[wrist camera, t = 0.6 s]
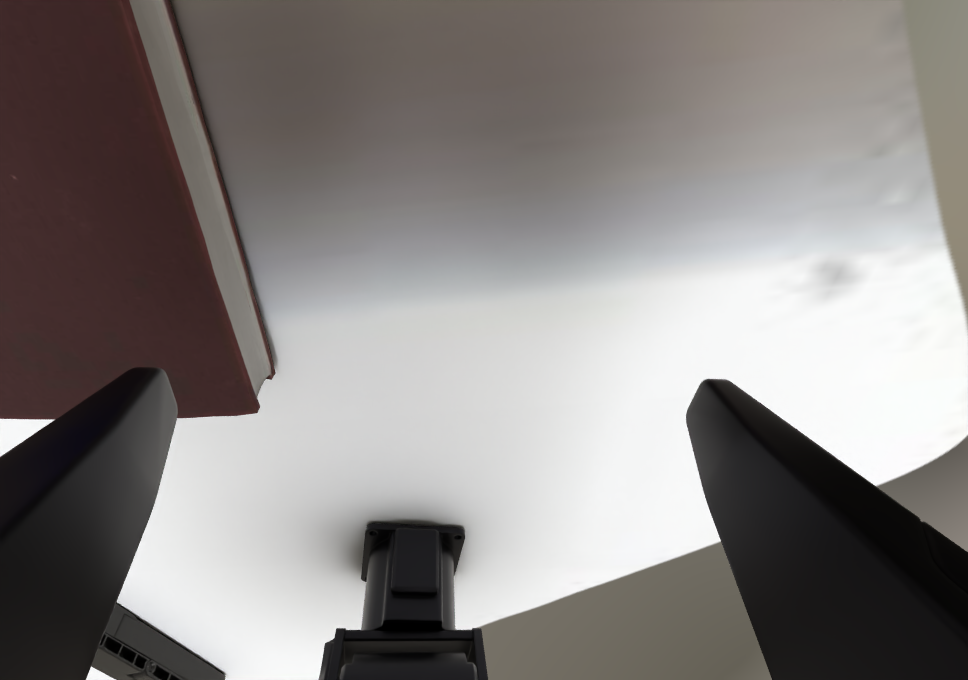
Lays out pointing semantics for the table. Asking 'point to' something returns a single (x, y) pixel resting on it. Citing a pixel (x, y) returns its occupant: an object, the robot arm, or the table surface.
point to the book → (115, 217)
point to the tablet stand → (145, 653)
